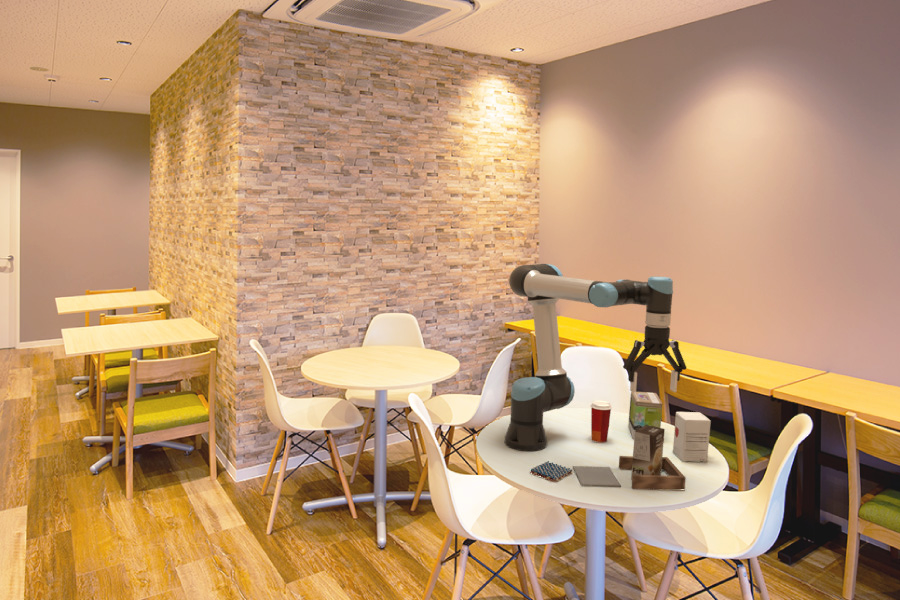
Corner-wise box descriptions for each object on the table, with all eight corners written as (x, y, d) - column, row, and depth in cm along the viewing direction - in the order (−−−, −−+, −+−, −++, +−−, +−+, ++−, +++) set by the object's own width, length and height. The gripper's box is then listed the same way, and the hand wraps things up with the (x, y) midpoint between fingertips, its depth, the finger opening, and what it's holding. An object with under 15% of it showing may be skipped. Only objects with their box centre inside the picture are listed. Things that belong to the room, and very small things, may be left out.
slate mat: (581, 486, 192) (581, 484, 192) (572, 467, 206) (572, 466, 206) (620, 487, 192) (620, 485, 192) (609, 468, 206) (609, 466, 206)
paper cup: (608, 436, 236) (610, 400, 234) (611, 444, 229) (613, 406, 227) (587, 435, 237) (589, 399, 235) (589, 442, 229) (591, 405, 228)
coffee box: (650, 485, 194) (653, 435, 192) (630, 480, 198) (633, 431, 196) (661, 476, 201) (665, 428, 199) (642, 471, 205) (645, 423, 203)
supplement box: (671, 452, 223) (675, 411, 220) (696, 452, 223) (700, 411, 221) (681, 462, 214) (685, 419, 212) (707, 462, 214) (711, 420, 212)
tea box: (660, 441, 233) (663, 403, 231) (632, 439, 234) (635, 401, 232) (653, 428, 247) (656, 391, 245) (627, 426, 249) (630, 390, 247)
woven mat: (527, 474, 201) (528, 468, 201) (546, 465, 209) (546, 460, 208) (555, 484, 194) (555, 478, 194) (573, 475, 202) (574, 469, 201)
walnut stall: (632, 488, 191) (633, 476, 191) (618, 467, 207) (619, 456, 207) (684, 490, 191) (685, 477, 191) (666, 468, 207) (667, 457, 207)
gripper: (624, 328, 193) (620, 395, 195) (700, 327, 196) (695, 393, 199) (615, 323, 200) (611, 388, 203) (688, 323, 203) (683, 387, 206)
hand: (653, 391), depth 201 cm, fingers open, 13 cm apart
